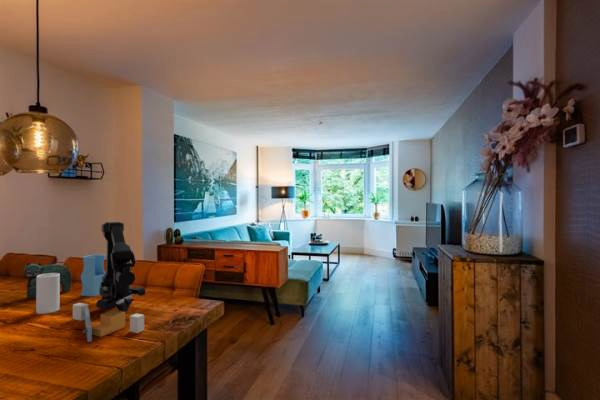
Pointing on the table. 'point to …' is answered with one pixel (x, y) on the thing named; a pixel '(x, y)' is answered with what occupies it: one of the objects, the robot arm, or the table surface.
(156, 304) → the table surface
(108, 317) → the wedge
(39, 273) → the ceramic cat
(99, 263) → the vase
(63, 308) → the table surface
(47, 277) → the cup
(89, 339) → the grey end-capped bar
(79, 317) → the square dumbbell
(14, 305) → the table surface
